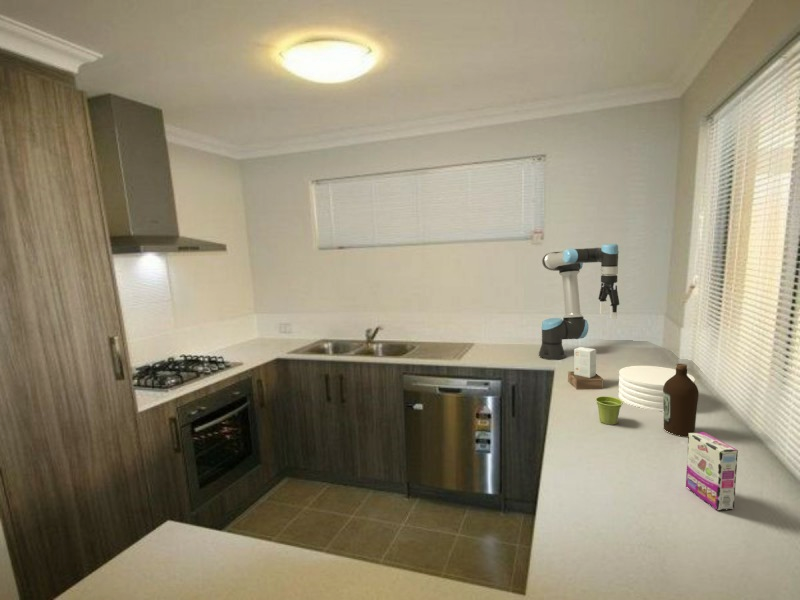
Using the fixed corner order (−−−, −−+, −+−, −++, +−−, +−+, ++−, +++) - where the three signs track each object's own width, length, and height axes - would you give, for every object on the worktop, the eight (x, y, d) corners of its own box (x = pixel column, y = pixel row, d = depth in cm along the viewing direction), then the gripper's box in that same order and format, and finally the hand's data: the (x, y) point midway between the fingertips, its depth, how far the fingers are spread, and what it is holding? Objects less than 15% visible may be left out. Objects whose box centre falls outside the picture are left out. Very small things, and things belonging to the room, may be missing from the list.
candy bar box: (735, 510, 108) (739, 450, 106) (717, 511, 107) (721, 451, 105) (701, 485, 119) (704, 430, 117) (684, 487, 118) (687, 432, 116)
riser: (567, 381, 211) (567, 371, 211) (592, 380, 211) (592, 371, 210) (576, 389, 199) (576, 379, 198) (603, 389, 198) (603, 378, 198)
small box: (596, 375, 203) (596, 349, 201) (589, 378, 199) (590, 351, 197) (580, 371, 209) (580, 346, 208) (573, 374, 205) (573, 348, 204)
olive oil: (692, 427, 155) (695, 361, 152) (700, 439, 146) (704, 369, 142) (658, 423, 159) (661, 359, 156) (664, 435, 149) (667, 367, 146)
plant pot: (619, 418, 165) (620, 397, 164) (624, 428, 157) (624, 406, 156) (594, 416, 169) (594, 395, 167) (596, 425, 160) (597, 403, 159)
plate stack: (698, 397, 183) (700, 372, 182) (686, 418, 163) (688, 390, 162) (628, 385, 202) (629, 362, 201) (610, 402, 182) (610, 377, 181)
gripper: (592, 273, 224) (591, 312, 227) (611, 277, 200) (610, 320, 203) (607, 272, 224) (606, 311, 226) (628, 276, 199) (626, 320, 202)
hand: (608, 316), depth 214 cm, fingers open, 13 cm apart
